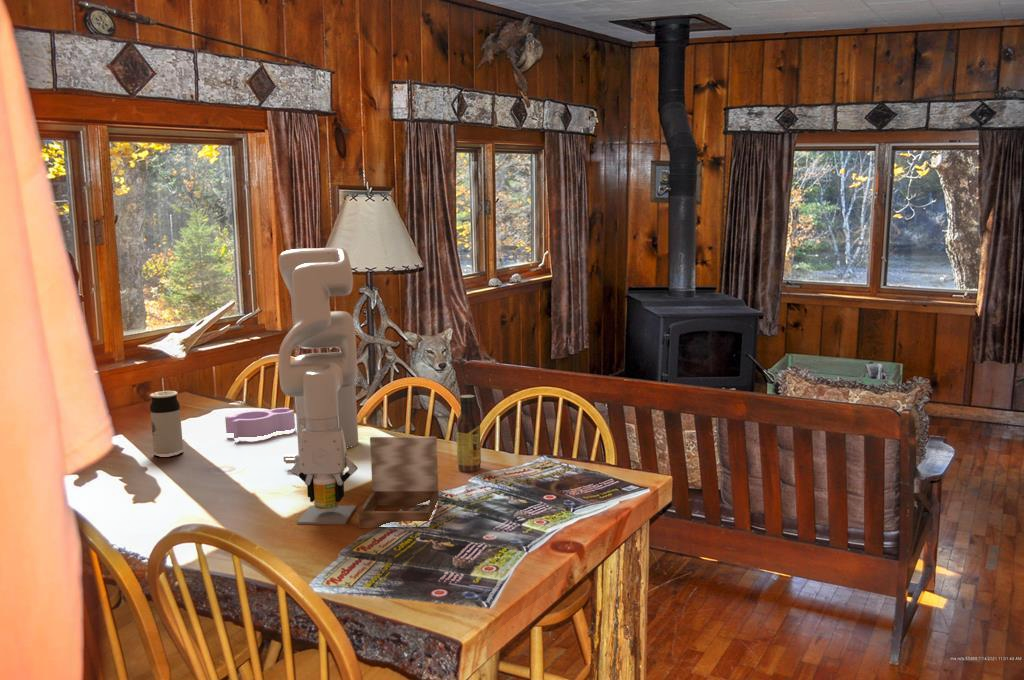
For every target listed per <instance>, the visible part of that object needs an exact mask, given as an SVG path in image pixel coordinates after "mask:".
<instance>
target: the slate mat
mask: <svg viewBox="0 0 1024 680" xmlns="http://www.w3.org/2000/svg"><path fill="white" fill-rule="evenodd" d="M356 508H357V505H338V508H336V509H335V510H332V511H318V510H316V509H315V505H310V506H309V507H308V508H307V509H306V510H305V511H304V513H303V514H302V515H301V517H300V518H299V519H298V520H297V521H296V524H297V525H346V524H347V523H348V521H349V519H350V518H351V516H352V515H353V514H354V512H355V511H356V510H357V509H356Z"/></svg>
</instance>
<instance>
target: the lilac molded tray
mask: <svg viewBox="0 0 1024 680" xmlns="http://www.w3.org/2000/svg"><path fill="white" fill-rule="evenodd" d="M224 418H225V431H226V433H234V438H238V437H257V436H264V435H268V434H271V433H273V432H276V431H285V430H291V429H294V428H295V429H296V422H295V421H296V420H295V419H296V417H295V410H294V409H290V408H289V407H277V408H272V409H266V410H250V411H248V410H247V411H243V412H238V413H235V414H232V415H230V416H229V415H228V416H225V417H224Z"/></svg>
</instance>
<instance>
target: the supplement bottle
mask: <svg viewBox="0 0 1024 680" xmlns="http://www.w3.org/2000/svg"><path fill="white" fill-rule="evenodd" d="M336 485H337V481H336V478H335V476H334V474H331V475H317V476H314V479H313V486H314V503H313V504H314V506H315V509H316V510H318V511H332V510H335V509H336V508H338V506H339V502H336V489H335V486H336Z"/></svg>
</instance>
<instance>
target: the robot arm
mask: <svg viewBox="0 0 1024 680" xmlns="http://www.w3.org/2000/svg"><path fill="white" fill-rule="evenodd" d="M277 263H278V269H279V272H280V275H281V277H282V280H283V282H284V284H285V286H286V288H287V291H288V292H289V296H290V302H291V318H292V328H291V329H290V330H288V332H287V333H286V335H285V336H284V338H283V340H282V342H281V343H280V347H279V352H278V370H279V371H278V372H279V384H280V385H279V386H280V390H282V393H283V394H284V395H286V397H289V398H293V397H294V403H295V419H296V420H295V421H296V435H297V449H298V450H297V451H298V453H295V454H284V455H283V462H284V463H285V464H294V465H293V467H292V468H291V471H292V473H294V474H295V475H296V476H298V477H299V478H300V479H301V481H303V482H304V484H305V485H306V488H307V498H309V502H310V503H313V502H314V486H313V479H314V477H315V476H317V475H331V474H334V476H335V478H336V481H337V485H336V486H335V489H336V502H338V503H340V502H341V500H343V498H344V497H345V482H346V481H348V479H349V478H350V477H351V476H352V475H353V474H355V472H356V471H357V470H358V466H357V465H356V464H355V462H353V461H352V460H351V459H350V458H349V456H348V452H347V449H346V444H345V439H344V434H343V430H342V428H341V427H339V415H338V396H337V392H338V391H339V389H340V387H349V386H352V385H354V384H355V385H356V383H357V380H358V371H359V370H358V356H357V355H358V354H357V353H358V352H357V338H356V337H357V335H356V328H355V327H356V326H355V321H354V319H353V316H352V315H351V313H349V312H348V311H342V310H335V311H331V306H330V304H331V303H330V297H340V296H341V297H343V296H348V295H350V294H351V293H352V292H353V291H352V290H353V287H354V276H353V269H352V264H351V262H350V257H349V255H348V252H347V250H345V249H344V248H341V247H320V248H318V247H316V248H315V247H314V248H313V247H309V248H294V249H289V250H288V249H287V250H285V251H283V252H281V253H280V254H279V255H278V262H277ZM297 347H298V348H299V349H300V348H301V349H303V350H304V349H307V350H311V349H312V350H314V349H316V350H317V349H328V348H332V349H333V348H336V349H337V350H339V351H333V352H312V353H304V354H300V355H297V356H295V357H294V358H293V359H292V360H291V356H292V353H293V351H294V350H295V349H296V348H297ZM346 468H348V470H347V471H345V469H346ZM344 471H345V473H344Z"/></svg>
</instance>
